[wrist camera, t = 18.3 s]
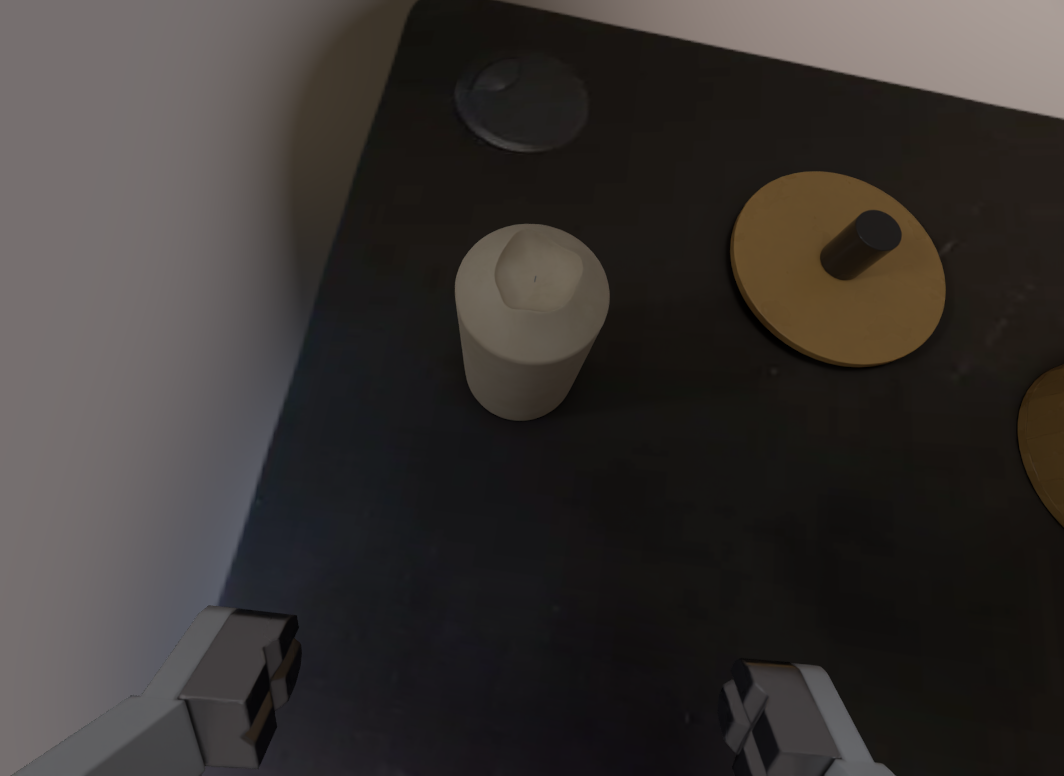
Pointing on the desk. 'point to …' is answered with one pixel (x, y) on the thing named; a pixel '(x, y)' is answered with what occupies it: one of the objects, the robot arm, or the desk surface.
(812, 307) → the tin lid
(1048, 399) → the tin
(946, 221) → the desk surface
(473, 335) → the candle
